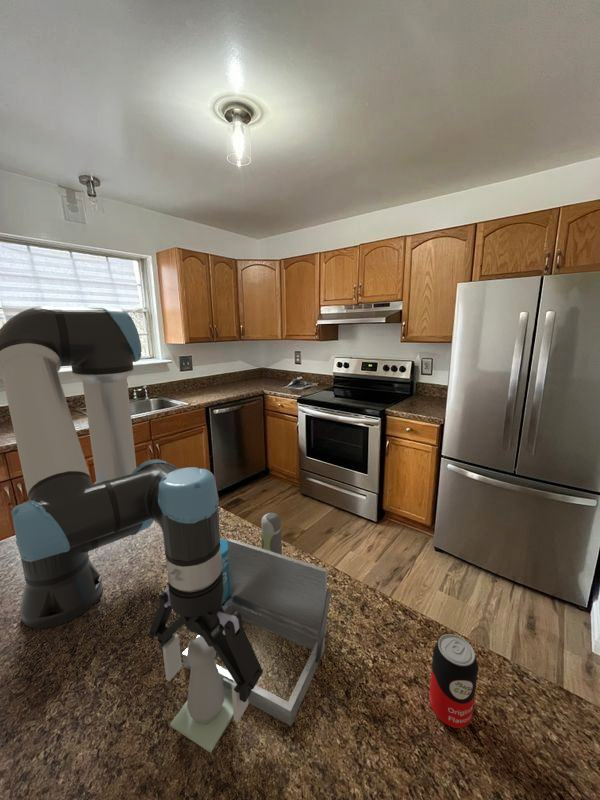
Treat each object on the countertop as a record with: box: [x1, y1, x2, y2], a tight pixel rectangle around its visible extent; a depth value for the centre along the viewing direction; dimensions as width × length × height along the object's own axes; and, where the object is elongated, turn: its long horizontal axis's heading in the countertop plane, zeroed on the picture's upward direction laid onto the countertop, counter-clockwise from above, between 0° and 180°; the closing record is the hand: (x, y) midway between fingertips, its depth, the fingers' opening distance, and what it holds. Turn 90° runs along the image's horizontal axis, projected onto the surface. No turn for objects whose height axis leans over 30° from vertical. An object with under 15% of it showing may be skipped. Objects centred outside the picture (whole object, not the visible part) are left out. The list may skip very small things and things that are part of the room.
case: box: [182, 538, 332, 727], centre depth 61 cm, size 23×16×17 cm
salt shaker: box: [186, 636, 225, 725], centre depth 53 cm, size 6×6×13 cm
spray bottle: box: [260, 512, 283, 555], centre depth 76 cm, size 5×5×20 cm
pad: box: [169, 688, 234, 754], centre depth 54 cm, size 8×8×1 cm
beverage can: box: [428, 633, 479, 729], centre depth 53 cm, size 6×6×12 cm
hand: (205, 691), depth 54 cm, fingers open, 13 cm apart
